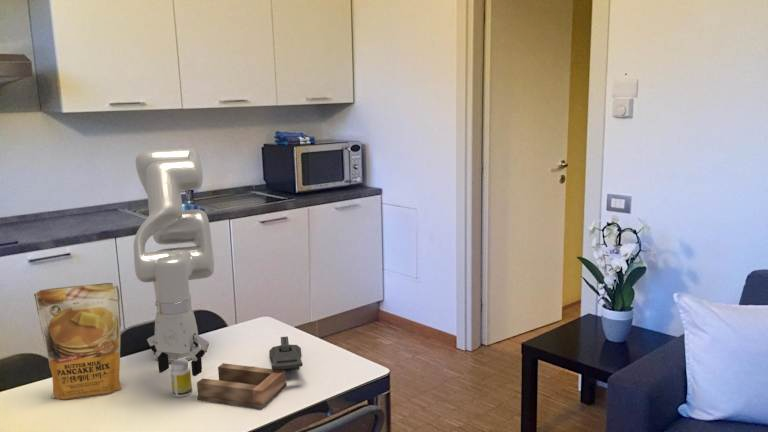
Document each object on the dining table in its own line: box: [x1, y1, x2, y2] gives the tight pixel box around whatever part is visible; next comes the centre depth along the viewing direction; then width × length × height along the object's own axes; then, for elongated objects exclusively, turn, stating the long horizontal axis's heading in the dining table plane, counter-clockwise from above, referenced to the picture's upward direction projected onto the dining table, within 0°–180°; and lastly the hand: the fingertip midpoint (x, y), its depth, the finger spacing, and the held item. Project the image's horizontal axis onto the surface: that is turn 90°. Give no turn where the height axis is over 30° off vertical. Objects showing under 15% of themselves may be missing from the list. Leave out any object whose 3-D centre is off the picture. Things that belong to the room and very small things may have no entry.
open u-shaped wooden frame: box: [196, 362, 288, 411], centre depth 164 cm, size 18×13×4 cm
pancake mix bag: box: [33, 282, 123, 401], centre depth 165 cm, size 7×19×28 cm, turn 105°
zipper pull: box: [268, 336, 303, 374], centre depth 178 cm, size 9×7×25 cm
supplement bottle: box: [170, 359, 193, 398], centre depth 165 cm, size 5×5×8 cm
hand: (180, 372), depth 164 cm, fingers open, 9 cm apart
